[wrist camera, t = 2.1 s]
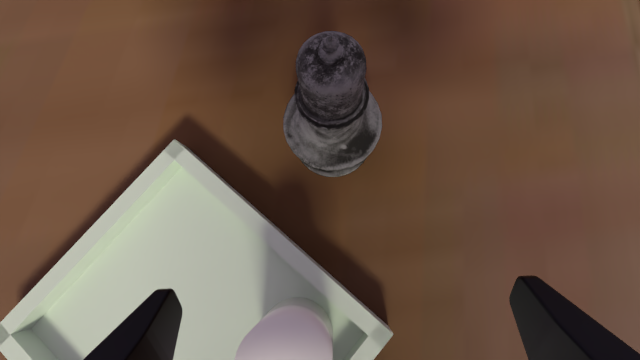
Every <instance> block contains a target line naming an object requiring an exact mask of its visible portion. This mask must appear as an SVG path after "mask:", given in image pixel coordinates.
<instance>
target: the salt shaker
mask: <svg viewBox="0 0 640 360" xmlns="http://www.w3.org/2000/svg"><path fill="white" fill-rule="evenodd" d="M296 73H297V77H298V81H297V84H296V87H295V94H294V95H293V96H292V98H291V100H290V101H289V103H288V105H287V107H286V111H285V114H284V124H283V129H284V133H285V137H286V141H287V143H288V144H289V146H290V148H291V150H292V151H293V153H294V154H295V155H296V156H297V157H298V158H300V159H301V161H302V163H303V164H304V165H305V166H306V167H307V168H308V169H309V170H311V171H313V172H315V173H317V174H318V175H322V176H326V177H339V176H343V175H347V174H349V173H351V172H353V171H354V170H356V169H357V168H358V167H359V166H360V165H361V164H362V163H363V162H364V161H365V159H366V157H367V156H368V155H369V154H370V153H371V152H372V151H373V149H374V148H375V146H376V144H377V142H378V141H379V138H380V133H381V129H382V115H381V112H380V109H379V106H378V103H377V102H376V100H375V98H374V97H373V95H372V94H371V93H370V92H369V88H368V85H367V82H366V80H365V73H366V58H365V55H364V52H363V49H362V47H361V46H360V45H359V43H358V42H357V41H356V40H355V39H353V38H352V37H351V36H349V35H347V34H345V33H341V32H336V31H325V32H322V33H318V34H316V35H314V36H312V37H310V38H309V39H308V40H307V41H306V42H305V43H303V45H302V47H301V48H300V50H299V52H298V55H297V59H296Z"/></svg>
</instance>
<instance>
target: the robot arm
mask: <svg viewBox="0 0 640 360" xmlns="http://www.w3.org/2000/svg"><path fill="white" fill-rule="evenodd" d="M510 305H511V308H512V311H513V314H514V317H515V320H516V324H517V327H518V330H519V333H520V336H521V339H522V342H523V345H524V348H525V351H526V354H527V356H528V359H529V360H640V354H639V353H638V352H636V351H635V350H634V349H632V348H631V347H630V346H628V345H627V344H626V343H624V342H623V341H622V340H620V339H619V338H618V337H616V336H615V335H614V334H613V333H611V332H610V331H609V330H607V329H606V328H605V327H603V326H602V325H601V324H599V323H598V322H597V321H595V320H594V319H593V318H591V317H590V316H589V315H587V314H586V313H585V312H583V311H582V310H581V309H579V308H578V307H577V306H576V305H574V304H573V303H572V302H570V301H569V300H568V299H566V298H565V297H564V296H562V295H561V294H560V293H558V292H557V291H556V290H554V289H553V288H552V287H550V286H549V285H548V284H546V283H545V282H544V281H542V280H541V279H540V278H538V277H536V276H519V277H518V278H517V279H516V281H515V284H514V286H513V289H512V291H511V294H510ZM181 319H182V306H181V304H180V302H179V299H178V297H177V295H176V293H175V291H174V290H173V289H171V288H168V289H157V290H155V291H154V292H153V293H152V294H151V295H150V296H149V297H148V298H147V299H146V300H145V301H144V302H142V303H141V304H140V305H139V306H138V307H137V308H136V309H135V310H134V311H133V312H132V313H131V314H130V315H129V316H128V317H127V318H126V319H125V320H124V321H123V322H122V323H121V324H120V325H118V326H117V327H116V328H115V329H114V330H113V331H112V332H111V333H110V334H109V335H108V336H107V337H106V338H105V339H104V340H103V341H102V342H101V343H100V344H99V345H98V346H97V347H96V348H94V349H93V350H92V351H91V352H90V353H89V354H88V355H87V356H86V357H85V358H84V359H83V360H173V357H174V352H175V347H176V343H177V338H178V333H179V328H180V324H181Z"/></svg>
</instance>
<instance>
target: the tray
mask: <svg viewBox="0 0 640 360" xmlns="http://www.w3.org/2000/svg"><path fill="white" fill-rule="evenodd" d="M168 288H171V289H173V290H174V291H175V293H176V295H177V297H178V299H179V302H180V304H181V306H182V319H181V324H180V328H179V333H178V338H177V343H176V347H175V352H174V357H173V360H234V359H235V356H236V352H237V350H238V347H239V345H240V344H241V342H242V340H243V339H244V337H245V336H246V335H247V334H248V333H249V332H250V331H251V329H252V328H253V327H254V326H255V325H256V324H257V323H258V322H259V321H260V320H261V319H262V318H263V317H264V316H265V315H266V314H267V313H268V312H269V311H270V310H271V309H272V308H273V307H274V306H275V305H276V304H278V303H279V302H281V301H283V300H285V299H288V298H292V297H303V298H307V299H310V300H312V301H314V302H316V303H317V304H319V305H320V306H321V307H322V308H323V309H324V310H325V312H326V313H327V315H328V316H329V318H330V321H331V324H332V328H333V360H374V359H375V357H376V356H377V355H378V353H379V352H380V351H381V350H382V348H383V347H384V346H385V345H386V343H387V342H388V341H389V339H390V338H391V337H392V336H393V333H392V331H391V329H390V328H389V326H388V325H387V324H386V323H384V322H383V321H382V320H381V319H380V318H379V317H378V316H377V315H375V314H374V313H373V312H372V311H371V310H370V309H369V308H368V307H366V306H365V305H364V304H363V303H362V302H361V301H360V300H359V299H357V298H356V297H355V296H354V295H353V294H352V293H351V292H350V291H348V290H347V289H346V288H345V287H344V286H343V285H342V284H341V283H339V282H338V281H337V280H336V279H335V278H334V277H333V276H332V275H330V274H329V273H328V272H327V271H326V270H325V269H324V268H323V267H322V266H320V265H319V264H318V263H317V262H316V261H315V260H314V259H313V258H311V257H310V256H309V255H308V254H307V253H306V252H305V251H304V250H302V249H301V248H300V247H299V246H298V245H297V244H296V243H295V242H293V241H292V240H291V239H290V238H289V237H288V236H287V235H286V234H284V233H283V232H282V231H281V230H280V229H279V228H278V227H277V226H275V225H274V224H273V223H272V222H271V221H270V220H269V219H268V218H266V217H265V216H264V215H263V214H262V213H261V212H260V211H259V210H257V209H256V208H255V207H254V206H253V205H252V204H251V203H250V202H248V201H247V200H246V199H245V198H244V197H243V196H242V195H241V194H239V193H238V192H237V191H236V190H235V189H234V188H233V187H232V186H230V185H229V184H228V183H227V182H226V181H225V180H224V179H223V178H221V177H220V176H219V175H218V174H217V173H216V172H215V171H214V170H212V169H211V168H210V167H209V166H208V165H207V164H206V163H205V162H203V161H202V160H201V159H200V158H199V157H198V156H197V155H196V154H194V153H193V152H192V151H191V150H190V149H189V148H188V147H186V146H185V145H183V144H182V143H180V142H179V141H177V140H175V139H174V140H173V141H172V142H171V143H170V144H169V145H168V146H167V147H166V148H165V149H164V150H163V151H162V153H161V154H160V155H159V156H158V157H157V158H156V159H155V160H154V161H153V162H152V163H151V164H150V165H149V166H148V167H147V168H146V169H145V170H144V172H143V173H142V174H141V175H140V176H139V177H138V178H137V179H136V180H135V181H134V182H133V183H132V184H131V185H130V186H129V187H128V188H127V189H126V191H125V192H124V193H123V194H122V195H121V196H120V197H119V198H118V199H117V200H116V201H115V202H114V203H113V204H112V205H111V206H110V207H109V208H108V210H107V211H106V212H105V213H104V214H103V215H102V216H101V217H100V218H99V219H98V220H97V221H96V222H95V223H94V224H93V225H92V226H91V227H90V229H89V230H88V231H87V232H86V233H85V234H84V235H83V236H82V237H81V238H80V239H79V240H78V241H77V242H76V243H75V244H74V245H73V246H72V248H71V249H70V250H69V251H68V252H67V253H66V254H65V255H64V256H63V257H62V258H61V259H60V260H59V261H58V262H57V263H56V264H55V265H54V267H53V268H52V269H51V270H50V271H49V272H48V273H47V274H46V275H45V276H44V277H43V278H42V279H41V280H40V281H39V282H38V283H37V284H36V286H35V287H34V288H33V289H32V290H31V291H30V292H29V293H28V294H27V295H26V296H25V297H24V298H23V299H22V300H21V301H20V302H19V303H18V305H17V306H16V307H15V308H14V309H13V310H12V311H11V312H10V313H9V314H8V315H7V316H6V317H5V318H4V319H3V320H2V321H1V323H0V351H1V352H2V354H3V355H4V356H5V357H6V358H7V359H8V360H83V359H84V358H85V357H86V356H87V355H88V354H89V353H90V352H91V351H92V350H93V349H94V348H96V347H97V346H98V345H99V344H100V343H101V342H102V341H103V340H104V339H105V338H106V337H107V336H108V335H109V334H110V333H111V332H112V331H113V330H114V329H115V328H116V327H117V326H118V325H120V324H121V323H122V322H123V321H124V320H125V319H126V318H127V317H128V316H129V315H130V314H131V313H132V312H133V311H134V310H135V309H136V308H137V307H138V306H139V305H140V304H141V303H142V302H144V301H145V300H146V299H147V298H148V297H149V296H150V295H151V294H152V293H153V292H154V291H155V290H157V289H168Z"/></svg>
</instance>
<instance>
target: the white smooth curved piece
mask: <svg viewBox="0 0 640 360" xmlns="http://www.w3.org/2000/svg"><path fill="white" fill-rule="evenodd" d="M234 360H333V328H332V324H331V321H330V318H329V316H328V315H327V313H326V312H325V310H324V309H323V308H322V307H321V306H320V305H319V304H317V303H316V302H314V301H312V300H310V299H307V298H303V297H292V298H288V299H285V300H283V301H281V302H279V303H278V304H276V305H275V306H274V307H273V308H272V309H271V310H270V311H269V312H268V313H267V314H266V315H265V316H264V317H263V318H262V319H261V320H260V321H259V322H258V323H257V324H256V325H255V326H254V327H253V328H252V329H251V331H250V332H249V333H248V334H247V335H246V336H245V337H244V339H243V340H242V342H241V344H240V345H239V347H238V350H237V352H236V356H235V359H234Z"/></svg>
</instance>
